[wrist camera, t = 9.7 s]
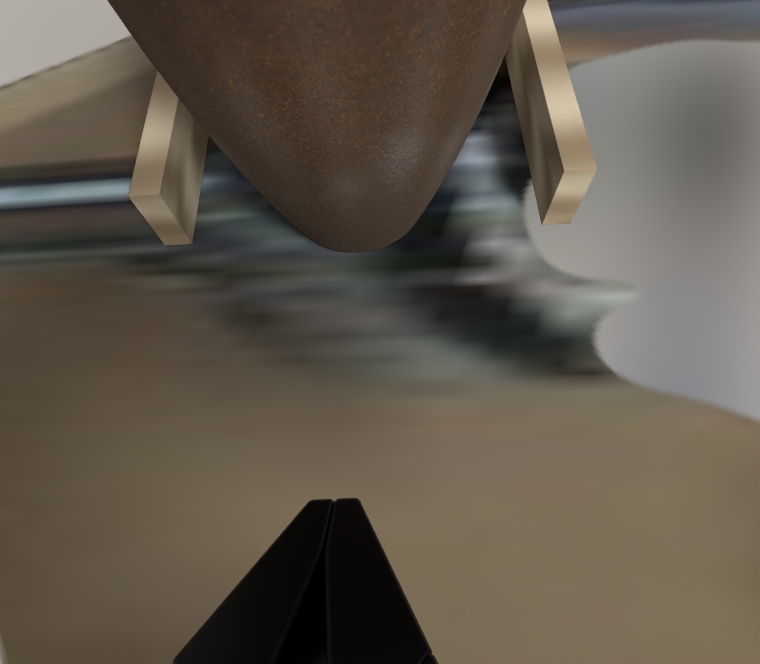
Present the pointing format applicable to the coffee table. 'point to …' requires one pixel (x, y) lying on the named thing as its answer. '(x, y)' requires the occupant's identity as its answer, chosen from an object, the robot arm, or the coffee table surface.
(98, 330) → the coffee table surface
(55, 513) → the coffee table surface
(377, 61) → the plant pot
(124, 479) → the coffee table surface
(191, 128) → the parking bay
